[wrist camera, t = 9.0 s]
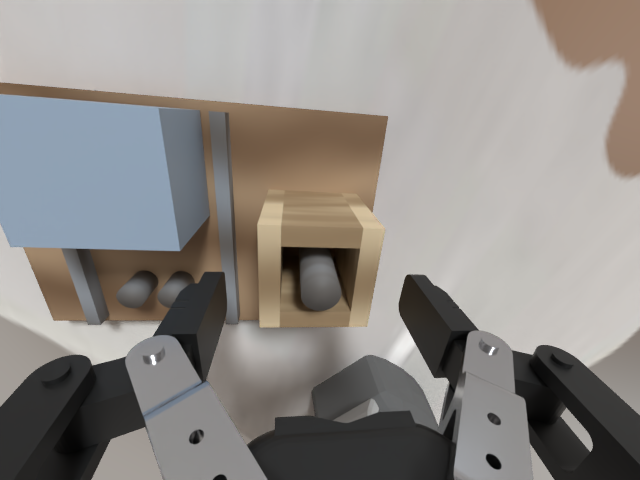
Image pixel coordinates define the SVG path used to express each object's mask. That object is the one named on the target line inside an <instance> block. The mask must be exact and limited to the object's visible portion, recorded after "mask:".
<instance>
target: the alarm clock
mask: <svg viewBox="0 0 640 480" xmlns="http://www.w3.org/2000/svg"><path fill="white" fill-rule="evenodd" d="M312 398H313V404H314V411H315V417H318V418H323V419H328V420H332V421H337V422H342V423H349V422H352V421H355V420H358V419H361V418H363V417H366V416H369V415H372V414H375V413H377V412H389V411H408V410H410V412H411V414H412V416H413V419H414V421H415V423H419V424H422V425H425V426H427V427H429V428H431V429H434V430H435V431H438V424H437V422H436V419H435V417H434V414H433V412H432V410H431V407H430V405H429V403H428V401H427V399H426V396H425V394H424V392H423V390H422V389H421V387H420V386H419V384H418V383H417V382H416V380H415V379H414V378H413V377H412V376H410V375H409V374H408V373H407V372H405V371H404V370H403V369H402V368H400V367H398V366H397V365H395V364H393V363H391V362H389V361H387V360H386V359H383V358H380V357H377V356H374V355H368V356H364V357H363V358H361V359H359V360H358V361H356V362H355V363H353V364H351V365H350V366H348V367H347V368H345V369H343V370H342V371H340V372H339V373H337V374H335V375H334V376H332V377H331V378H329V379H327V380H326V381H324V382H322V383H321V384H319V385H318V386H316V387H314V388H313V390H312Z"/></svg>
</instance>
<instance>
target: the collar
mask: <svg viewBox="0 0 640 480" xmlns="http://www.w3.org/2000/svg"><path fill="white" fill-rule="evenodd" d="M384 233H385V228H384V227H383V226H382V224H381V223H380V222H379V221H378V219H377V218H376V217H375V216H374V215H373V213H372V212H371V211H370V210H369V208H368V207H367V206H366V205H365V204H364V202H363V201H362V200H361V199H360V197H359V196H358V195H357V194H351V193H331V192H311V191H290V190H270V189H269V190H268V193H267V196H266V199H265V202H264V205H263V208H262V211H261V215H260V218H259V221H258V224H257V235H258V277H259V320H260V327H367V325H368V319H369V314H370V309H371V303H372V298H373V292H374V287H375V282H376V276H377V271H378V266H379V260H380V255H381V250H382V244H383V239H384ZM284 247H320V248H335V256H332V259H333V263H334V267H335V270H336V274H337V277H338V281H339V285H340V288H341V298H340V300H339V302H338V303H337V304H336V305H335V306H334V307H332V308H330V309H328V310H324V311H316V310H312V309H310V308H308V307H307V306H305V305H304V303H303V301H302V299H301V286H300V264H299V256H297V255H284Z"/></svg>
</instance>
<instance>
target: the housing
mask: <svg viewBox="0 0 640 480" xmlns="http://www.w3.org/2000/svg"><path fill="white" fill-rule="evenodd" d="M209 216H210V211H209V201H208V190H207V180H206V169H205V159H204V149H203V138H202V128H201V117H200V110H191V109H179V108H167V107H155V106H143V105H131V104H119V103H107V102H95V101H83V100H71V99H59V98H45V97H31V96H17V95H4V94H0V224H1V226H2V228H3V230H4V233H5V235H6V237H7V240H8V242H9V244H10V246H11V247H35V248H74V249H114V250H153V251H181V250H182V248H183V247H184V246H185V245H186V244H187V242H188V241H189V240H190V239H191V237H192V236H193V235H194V234H195V233H196V231H197V230H198V229H199V228H200V227H201V225H202V224H203V223H204V222H205V221H206V219H207V218H208V217H209Z"/></svg>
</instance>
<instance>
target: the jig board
mask: <svg viewBox="0 0 640 480" xmlns="http://www.w3.org/2000/svg"><path fill="white" fill-rule="evenodd" d="M0 94H4V95H17V96H31V97H45V98H59V99H71V100H83V101H95V102H107V103H119V104H131V105H143V106H155V107H167V108H179V109H191V110H200V117H201V128H202V138H203V149H204V159H205V169H206V180H207V190H208V201H209V211H210V216H209V217H208V218H207V219H206V221H205V222H204V223H203V224H202V225H201V227H200V228H199V229H198V230H197V231H196V233H195V234H194V235H193V236H192V237H191V239H190V240H189V241H188V242H187V244H186V245H185V246H184V247H183V248H182V250H181V251H153V250H114V249H74V248H35V247H23V248H24V250H25V253H26V255H27V257H28V260H29V262H30V265H31V267H32V269H33V272H34V274H35V277H36V279H37V281H38V284H39V286H40V289H41V291H42V293H43V296H44V298H45V301H46V303H47V305H48V308H49V310H50V313H51V315H52V317H53V320H54V321H63V320H87V323H88V325H101V324H102V323H103V322H104V321H105V320H163V319H164V317H165V316H166V314H167V312H168V311H169V309H170V308H171V306H172V304H173V302H175V299H176V298H177V296H178V294H179V293H180V291H181V290H182V289H184V288H185V287H186V286H188V285H189V284H190V283H199V281H200V279H201V277H202V275H203V274H204V272H224V273H225V281H226V293H227V313H226V317H225V320H226V324H238V321H239V320H259V277H258V235H257V224H258V221H259V218H260V215H261V211H262V208H263V205H264V202H265V199H266V196H267V193H268V190H269V189H270V190H290V191H311V192H331V193H351V194H357V195H358V196H359V197H360V199H361V200H362V201H363V202H364V204H365V205H366V206H367V207H368V208H369V210H370V211H371V212H373V206H374V200H375V193H376V187H377V181H378V175H379V169H380V163H381V157H382V151H383V145H384V139H385V132H386V126H387V120H388V116H378V115H366V114H355V113H343V112H332V111H321V110H309V109H298V108H286V107H275V106H263V105H252V104H240V103H229V102H217V101H206V100H194V99H183V98H171V97H160V96H148V95H137V94H126V93H114V92H103V91H91V90H80V89H68V88H57V87H45V86H34V85H22V84H11V83H0ZM284 255H297V256H299V264H300V286H301V299H302V301H303V303H304V305H305V306H307V307H308V308H310V309H312V310H316V311H324V310H328V309H330V308H332V307H334V306H335V305H336V304H337V303H338V302H339V300H340V298H341V288H340V285H339V281H338V277H337V274H336V270H335V267H334V263H333V259H332V256H335V248H320V247H284Z"/></svg>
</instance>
